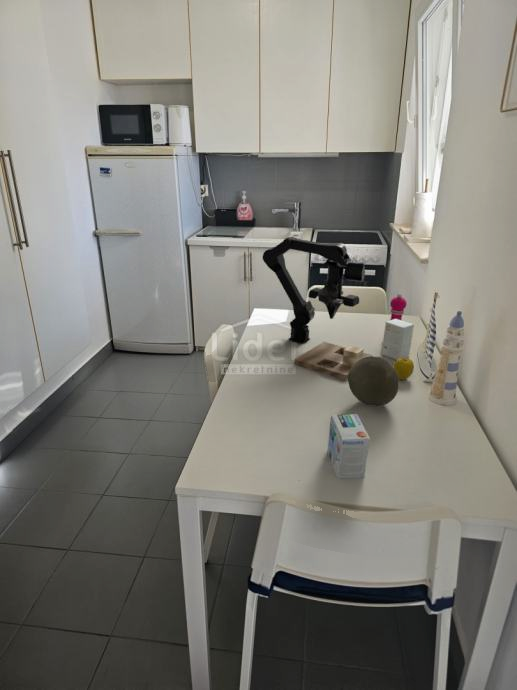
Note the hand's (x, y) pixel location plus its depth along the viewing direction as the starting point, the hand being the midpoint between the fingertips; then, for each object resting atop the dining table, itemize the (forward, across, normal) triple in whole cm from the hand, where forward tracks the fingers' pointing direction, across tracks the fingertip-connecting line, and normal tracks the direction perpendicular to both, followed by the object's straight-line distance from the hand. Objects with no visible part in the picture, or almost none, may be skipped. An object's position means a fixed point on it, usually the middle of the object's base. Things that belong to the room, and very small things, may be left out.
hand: (331, 318), depth 172 cm
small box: (+11, +24, +7) cm, 27 cm away
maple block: (+9, +16, -13) cm, 23 cm away
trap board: (+11, +9, -13) cm, 19 cm away
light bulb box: (+11, +39, -63) cm, 75 cm away
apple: (+11, +33, -10) cm, 36 cm away
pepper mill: (+11, +18, +20) cm, 29 cm away
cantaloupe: (+11, +32, -33) cm, 47 cm away
